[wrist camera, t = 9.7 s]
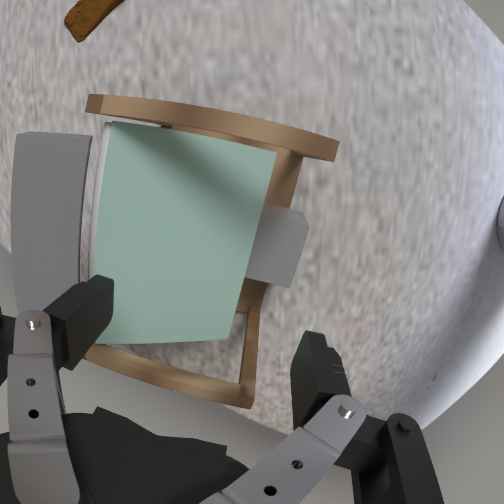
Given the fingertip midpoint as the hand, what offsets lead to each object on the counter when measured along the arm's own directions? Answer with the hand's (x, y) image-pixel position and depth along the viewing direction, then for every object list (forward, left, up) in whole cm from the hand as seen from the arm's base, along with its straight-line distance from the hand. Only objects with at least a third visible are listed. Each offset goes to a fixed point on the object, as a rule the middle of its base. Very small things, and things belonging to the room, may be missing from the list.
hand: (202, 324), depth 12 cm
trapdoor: (+6, 0, -7) cm, 9 cm away
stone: (0, 0, -14) cm, 14 cm away
